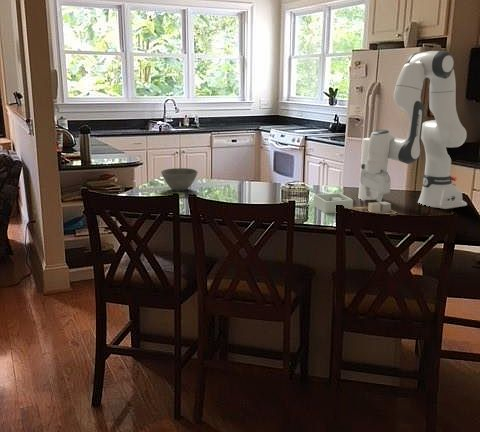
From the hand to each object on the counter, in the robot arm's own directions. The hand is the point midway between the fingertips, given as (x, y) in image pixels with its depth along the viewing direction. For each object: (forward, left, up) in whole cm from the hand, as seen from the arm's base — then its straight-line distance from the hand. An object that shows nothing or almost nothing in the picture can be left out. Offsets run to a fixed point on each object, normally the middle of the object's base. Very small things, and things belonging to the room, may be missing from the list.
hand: (373, 198), depth 228 cm
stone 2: (-1, 0, -6) cm, 6 cm away
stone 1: (+11, -13, -6) cm, 18 cm away
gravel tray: (-1, 0, -7) cm, 7 cm away
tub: (+14, -11, -7) cm, 19 cm away
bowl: (+75, -65, -7) cm, 100 cm away
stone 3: (-6, 0, -6) cm, 8 cm away
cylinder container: (-12, -25, -7) cm, 29 cm away
